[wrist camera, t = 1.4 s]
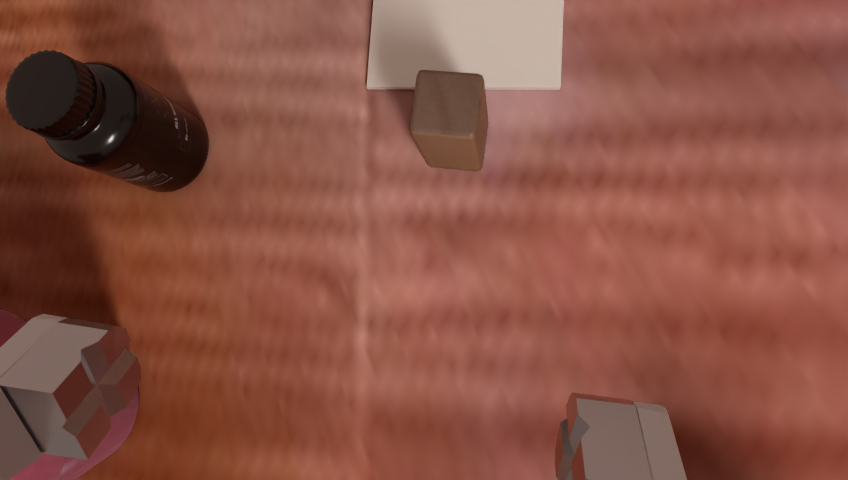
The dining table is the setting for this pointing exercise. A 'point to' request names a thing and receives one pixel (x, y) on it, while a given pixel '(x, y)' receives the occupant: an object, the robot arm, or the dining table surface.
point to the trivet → (467, 42)
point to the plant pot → (58, 474)
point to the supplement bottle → (107, 121)
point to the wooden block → (450, 119)
